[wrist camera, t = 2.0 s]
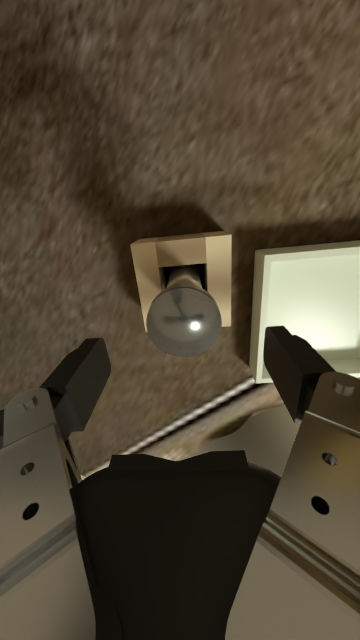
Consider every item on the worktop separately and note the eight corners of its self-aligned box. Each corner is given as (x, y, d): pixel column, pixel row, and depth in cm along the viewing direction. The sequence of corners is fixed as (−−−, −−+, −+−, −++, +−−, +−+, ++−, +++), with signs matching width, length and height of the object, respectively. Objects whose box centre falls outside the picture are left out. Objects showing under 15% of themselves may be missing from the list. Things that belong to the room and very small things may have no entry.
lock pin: (160, 256, 22) (140, 292, 12) (205, 252, 22) (221, 285, 12) (165, 298, 24) (152, 358, 14) (207, 294, 24) (222, 354, 14)
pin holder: (139, 239, 21) (130, 244, 18) (223, 230, 21) (231, 234, 17) (151, 314, 25) (146, 332, 21) (224, 309, 24) (230, 326, 21)
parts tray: (254, 249, 22) (264, 255, 19) (407, 235, 21) (441, 239, 18) (249, 366, 28) (255, 383, 25) (367, 359, 27) (387, 375, 24)
